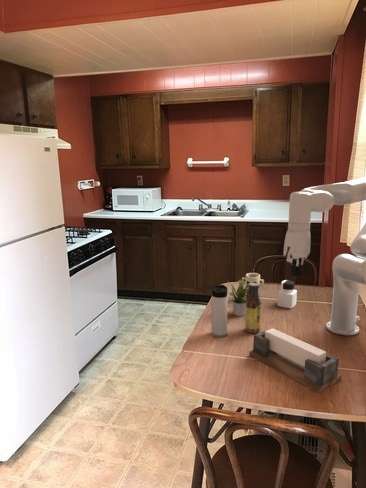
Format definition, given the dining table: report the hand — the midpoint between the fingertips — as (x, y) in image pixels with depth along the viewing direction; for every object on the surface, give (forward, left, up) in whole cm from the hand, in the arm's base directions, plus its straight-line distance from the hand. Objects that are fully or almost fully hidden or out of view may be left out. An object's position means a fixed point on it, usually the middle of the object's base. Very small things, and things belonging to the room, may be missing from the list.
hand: (296, 275), depth 145 cm
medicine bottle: (-29, -26, -27) cm, 48 cm away
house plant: (-4, -31, -27) cm, 42 cm away
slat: (+14, +11, -24) cm, 30 cm away
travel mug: (+17, -23, -27) cm, 40 cm away
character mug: (-21, -41, -27) cm, 54 cm away
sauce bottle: (+4, -17, -27) cm, 32 cm away
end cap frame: (+14, +11, -27) cm, 32 cm away
